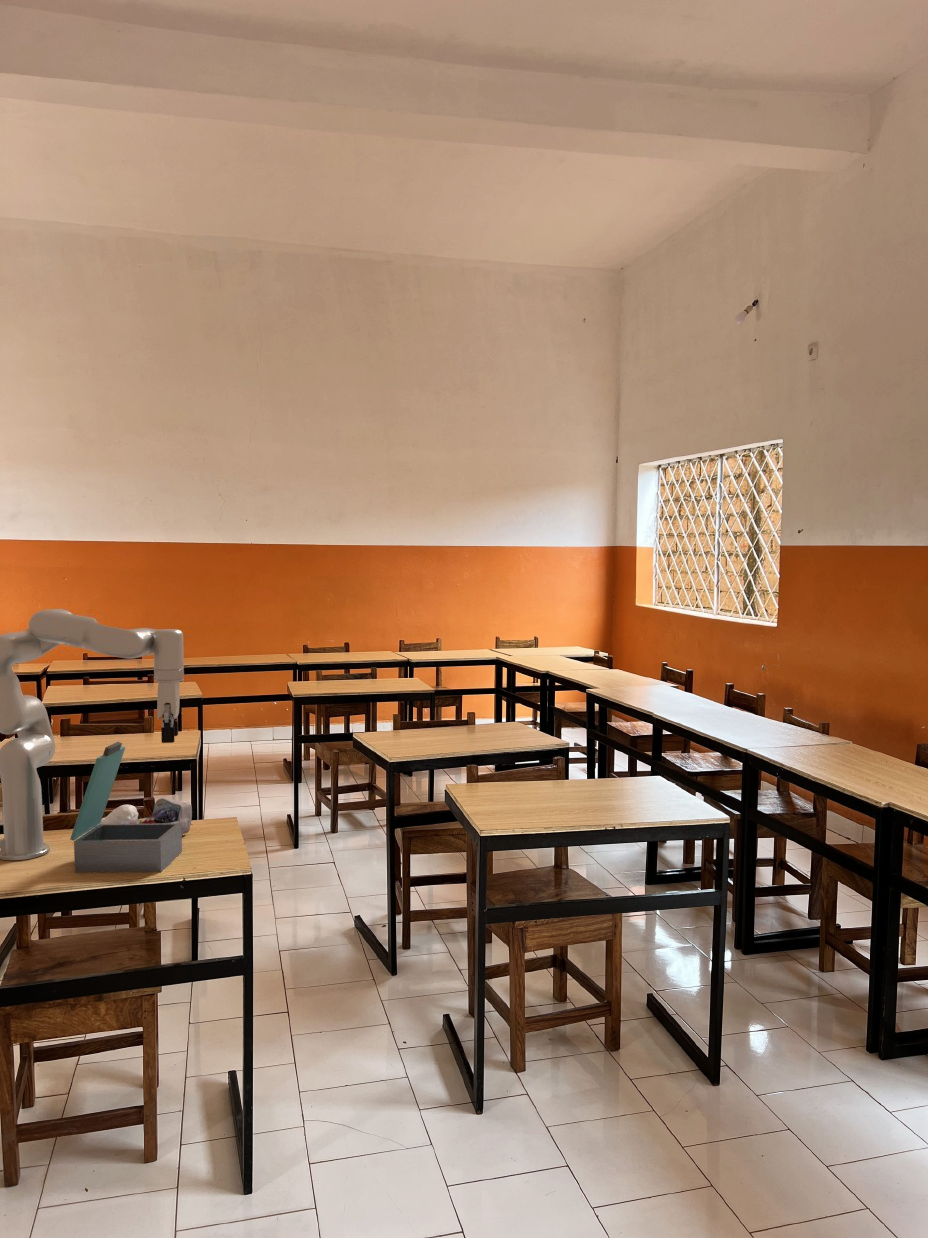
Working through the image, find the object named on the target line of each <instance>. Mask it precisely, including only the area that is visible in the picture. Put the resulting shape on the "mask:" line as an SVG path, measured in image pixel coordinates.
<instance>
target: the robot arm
mask: <svg viewBox="0 0 928 1238" xmlns="http://www.w3.org/2000/svg"><path fill="white" fill-rule="evenodd" d="M59 645H62V646H68V647H75V648H79V649H84V650H87V651H90V652H94V653H97V654H101V655H105V656H109V657H111V656H112V657H115V658H122V659H131V660H132V659H137V658H141V657H147V656H151V655H153V665H154V666H153V677H154V682H155V683H157V699H156V700H157V702H156V703H157V705H156V707H157V708H156V719H157V720H159V721H160V720H161V734H160V735H161V743H162V744H171V743H175V737H178V736H179V721H178V716H179V713H180V689H181V688H180V682H181V683H182V682H184V681H185V679H184V678H185V670H184V669H185V664H184V663H185V661H184V659H185V658H184V657H185V656H184V652H185V651H184V650H185V649H184V633H183V631H182V630H180V629H176V628H165V629H164V628H163V629H162V628H161V629H156V628H150V627H149V628H148V627H139V628H138V627H137V628H132V629H125V628H119V627H113V626H109V625H104V624H101V623H99V622H98V621H97V619H96V618H94V617H91V616H86V615H85V616H84V615H77V614H75V613H74V614H73V613H72V612H71V611H68V610H67V609H64V608H52V609H51V608H50V609H42V610H39V611H37V612H35V613H34V614H32V616H31V618H29V621H28V628H27V629H26V630H23V631H17V632H14V631H13V632H7V633H6V632H5V633H3V634H0V734H3V735H13V734H16V735H17V737H16V738H13V739H10V740H9V741H7V742H5V743H4V745H2V746H1V747H0V783H1V794H2V795H1V797H2V798H1V799H2V815H3V816H2V817H3V818H2V819H3V838H0V859H1V860H2V861H4V860H5V861H23V860H31V859H35V858H37V857H41V856H43V855H46V854H47V853H49V852H50V850H51V846H50V845H49V843H48V844H47V843H44V823H43V798H42V797H43V795H42V785H41V779H40V777H39V774H38V770H37V768H40V767H43V766H44V765H46V764H48V763H49V762H51V760H52V759H53V758H54V756H55V753H56V744H55V739H54V735H53V731H52V726H51V722H50V719H49V716H48V711H47V709H46V707H45V704H44V703H43V702H42V701H41V700H40V699H39V698H38V697H37V696H34V695H31V694H30V695H29V694H23V691H22V688H21V683H20V679H19V678H18V676H17V674H16V673H15V671H14V670H13V668H12V667H13V666H14V665H17V664H24V663H28V662H32V661H35V660H37V659H40V658H42V657H43V656H44V655H45V654H47V653H49V652H50V651H51V650H53V649H55V648H57V647H58V646H59Z"/></svg>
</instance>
